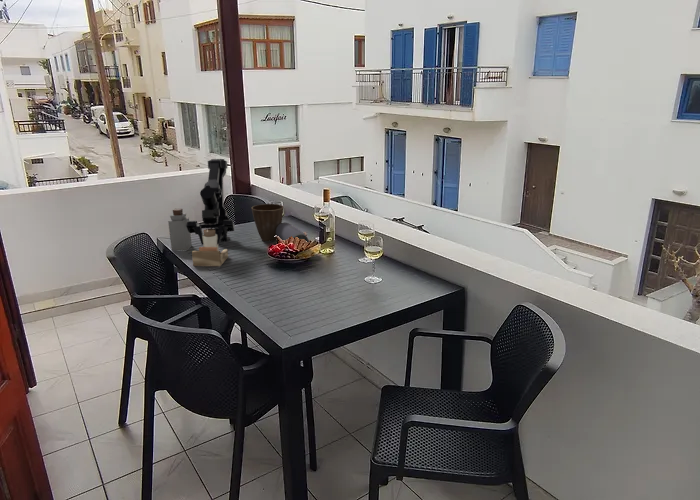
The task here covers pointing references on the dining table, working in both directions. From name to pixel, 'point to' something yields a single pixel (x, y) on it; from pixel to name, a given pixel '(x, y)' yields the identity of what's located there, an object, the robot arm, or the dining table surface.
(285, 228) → the bluetooth speaker
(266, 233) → the plant pot
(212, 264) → the wooden frame
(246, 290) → the dining table surface
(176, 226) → the perfume bottle
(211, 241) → the jar
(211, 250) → the plate
